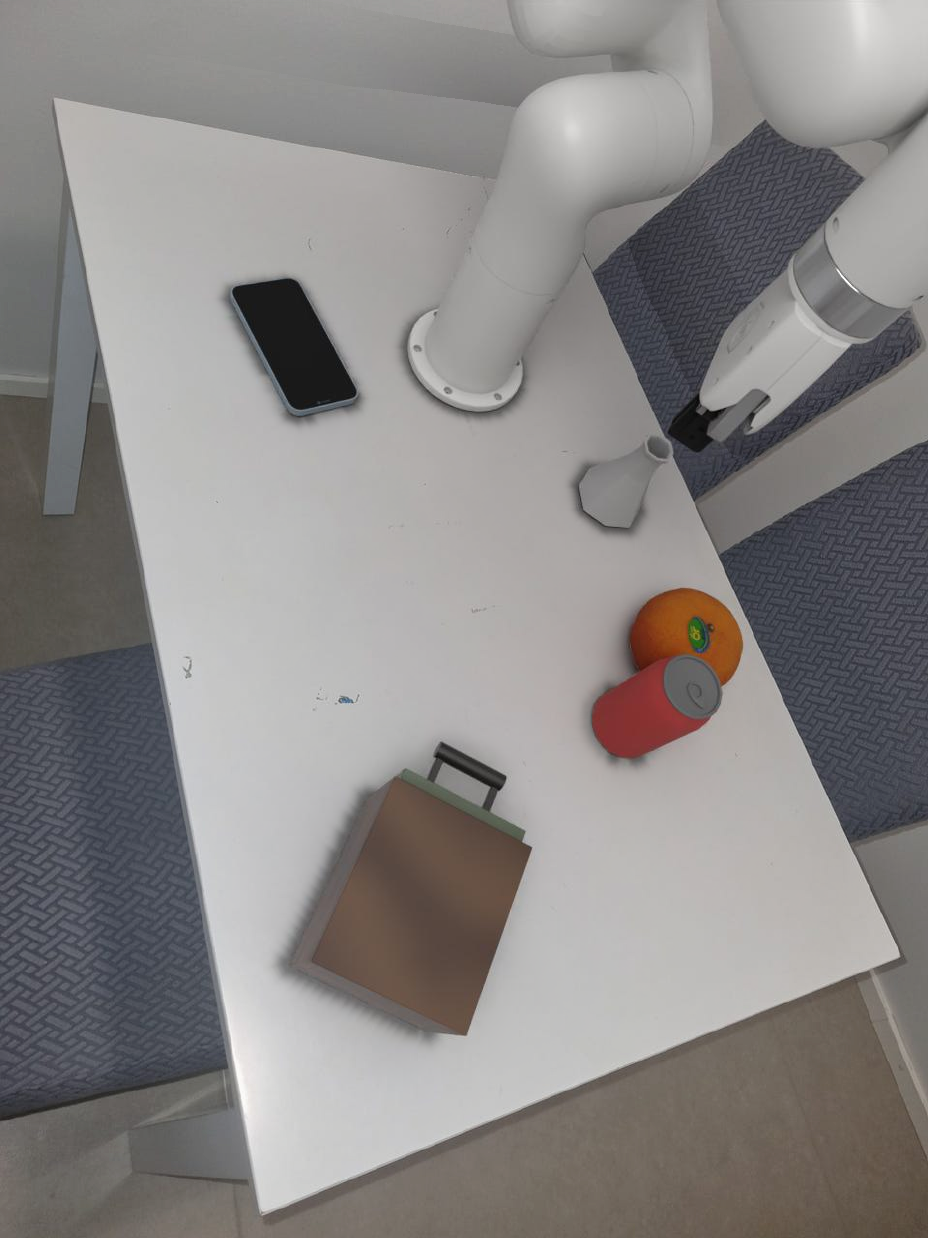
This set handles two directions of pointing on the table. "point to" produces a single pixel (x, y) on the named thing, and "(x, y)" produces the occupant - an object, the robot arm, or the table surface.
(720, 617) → the fruit
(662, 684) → the beer can
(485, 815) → the drawer
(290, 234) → the table surface
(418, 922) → the cabinet
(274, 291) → the smartphone
